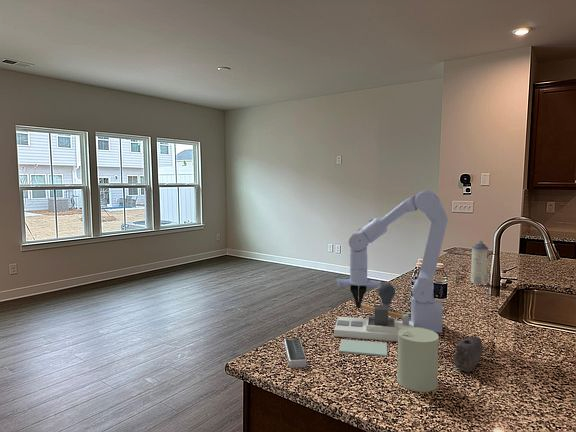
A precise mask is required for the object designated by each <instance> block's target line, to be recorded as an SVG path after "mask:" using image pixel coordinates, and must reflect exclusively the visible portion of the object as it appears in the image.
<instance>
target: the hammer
mask: <svg viewBox="0 0 576 432" xmlns="http://www.w3.org/2000/svg"><path fill="white" fill-rule="evenodd" d="M360 309H365V310H368V311H372V312H375V306H370V305H367V304H363V303H361V308H360ZM388 316H390V317H394V318H399V319H402V320H401V321H402V324H404V325H408V324H409V321H410V315H409V314H407V313H405V314H404V313H403V314H402V313H398V312H393V311H390V310H388Z"/></svg>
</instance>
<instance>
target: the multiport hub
mask: <svg viewBox="0 0 576 432" xmlns="http://www.w3.org/2000/svg"><path fill="white" fill-rule="evenodd" d="M283 343H284V349H285V354H286V358H287V359H286V360H287V363H288V364H287V365H288V367H289V368H291V369H296V368H306V367H307V358H306V357H307V356H306V354H305V351H304V348H303V345H302V341H301V338H300V337H285V338H284V341H283Z"/></svg>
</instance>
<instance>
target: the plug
mask: <svg viewBox="0 0 576 432" xmlns="http://www.w3.org/2000/svg"><path fill="white" fill-rule="evenodd" d="M374 307H375V311H374V316H375V319H371V318H370V325H374V326H388V327H393V320H388V317H389V315H388V311H389V310H388V306H383V304H382V305H380V304H379V305H378V304H375V305H374Z"/></svg>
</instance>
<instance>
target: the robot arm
mask: <svg viewBox="0 0 576 432" xmlns="http://www.w3.org/2000/svg"><path fill="white" fill-rule="evenodd" d="M417 210H419V211H420V212H422V213H423V214H425V216H426V217H427V218H428V220H429V221H430V227H429V232H428V236H427V239H426V245H425V249H424V254H423V256H422V262H421V265H420V266H421V267H420V270H419V274H418V276H417V278H416V279H415V281H414V283H413V286H412V290H411V295H412V296H411V298H410V299H411V300H410V302H411V303H410V309H411V310H410V320H409V322H413V323H414V327H419V328H425V329H429V330H431V331H434V332H435V333H439V334H440V333H441V334H443V316H444V315H443V312H444V311H443V303H442V301H441V300H440V301H439V300H436V297H435V298H434V295H435V294H434V289H435V283H434V279H435V274H436V271H437V265H438V262H439V258H440V253H441V249H442V245H443V241H444V237H445V232H446V230H447V229H446V228H447V226H448V215H447V213H446V211H445V208H444V206H443V204H442V201H441V200H440V197H439V196H437V195H436V194H435V192H433V191H432V190H429V189H424V190H421V191H419V192H418V193H416V194H414V195H412V196H409V198H406V199H405V200H403V201H402V202H401V203H399V204H398V205H397V206H395V207H394V208H393V209H392V210H391V211H389V212H388V213H387V214H385V215H384V216H383V217H381V218H379V217H375V218H374V219H373V218H371V219H369V220H368V222H367V224H366V225H364V226H363V227H362V228H358V229H357V232H355V233H352V235H350V237H349V239H348V245H349V247H350V255H349V256H350V257H349V262H350V263H349V278H342V279H340V278H337V279H336V287H341V286H342V287H349V288H350V293H351V294H352V297H353V298H354V302H355V308H356V309H362V308H361V305H362V301H363V298H364V297H365V294H366V291H367V288H377V289H379V288H381V285H382V283H381V280H372V279H368V246H369V245H370V244H372V243H373V242H375V241H376V240H377V239H379V238H380V237H381V236H383V235H384V234H386V233H387V232H388V226H390V225H391V224H392V223H394V222H395V221H396V220H398V219H399V218H401V217H402V216H404V215H405V214H407V213H410V212H417Z"/></svg>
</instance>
